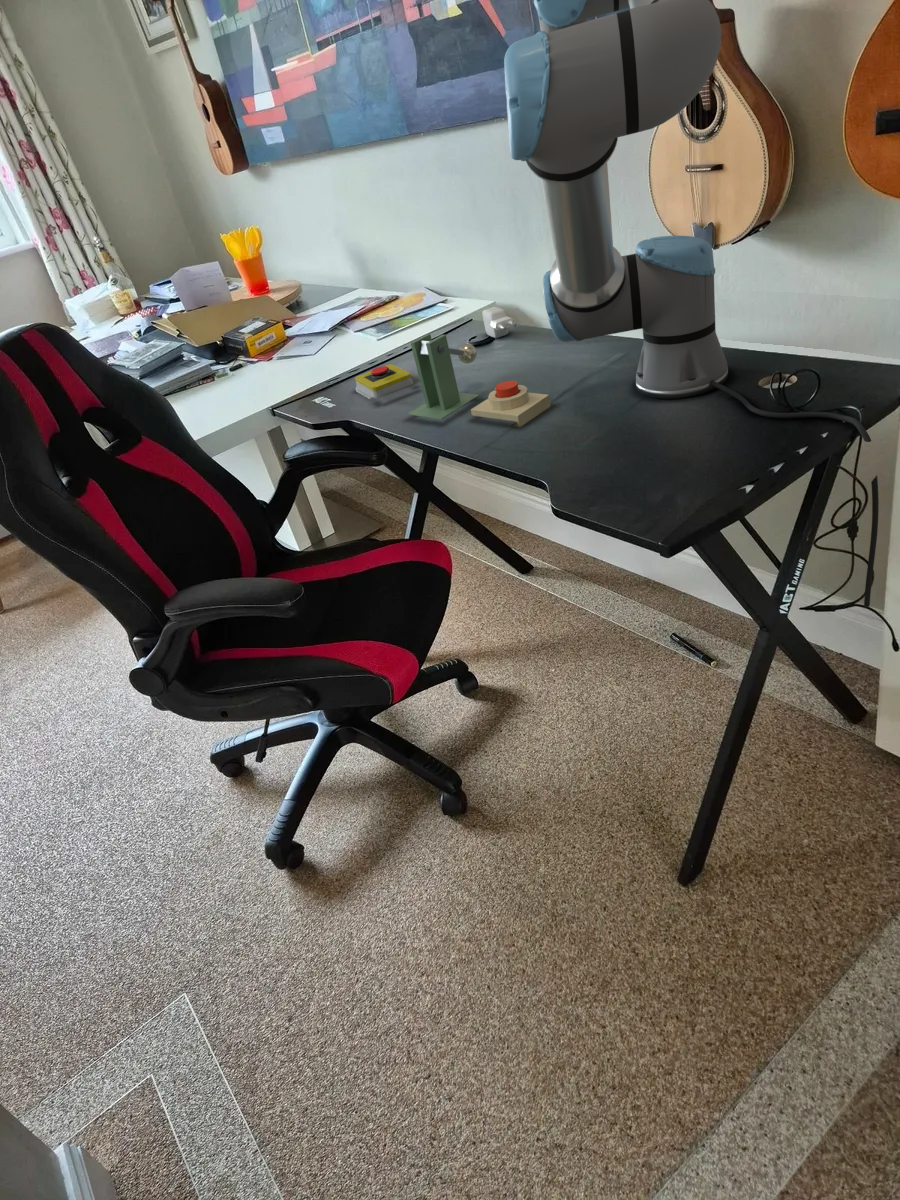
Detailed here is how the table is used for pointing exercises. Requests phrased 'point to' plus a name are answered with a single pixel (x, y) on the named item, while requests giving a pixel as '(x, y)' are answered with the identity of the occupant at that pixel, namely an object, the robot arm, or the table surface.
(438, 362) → the switch bracket
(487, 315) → the power adapter
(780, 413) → the robot arm
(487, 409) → the button console
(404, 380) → the emergency button
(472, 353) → the lever switch
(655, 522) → the table surface
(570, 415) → the table surface
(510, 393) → the button
